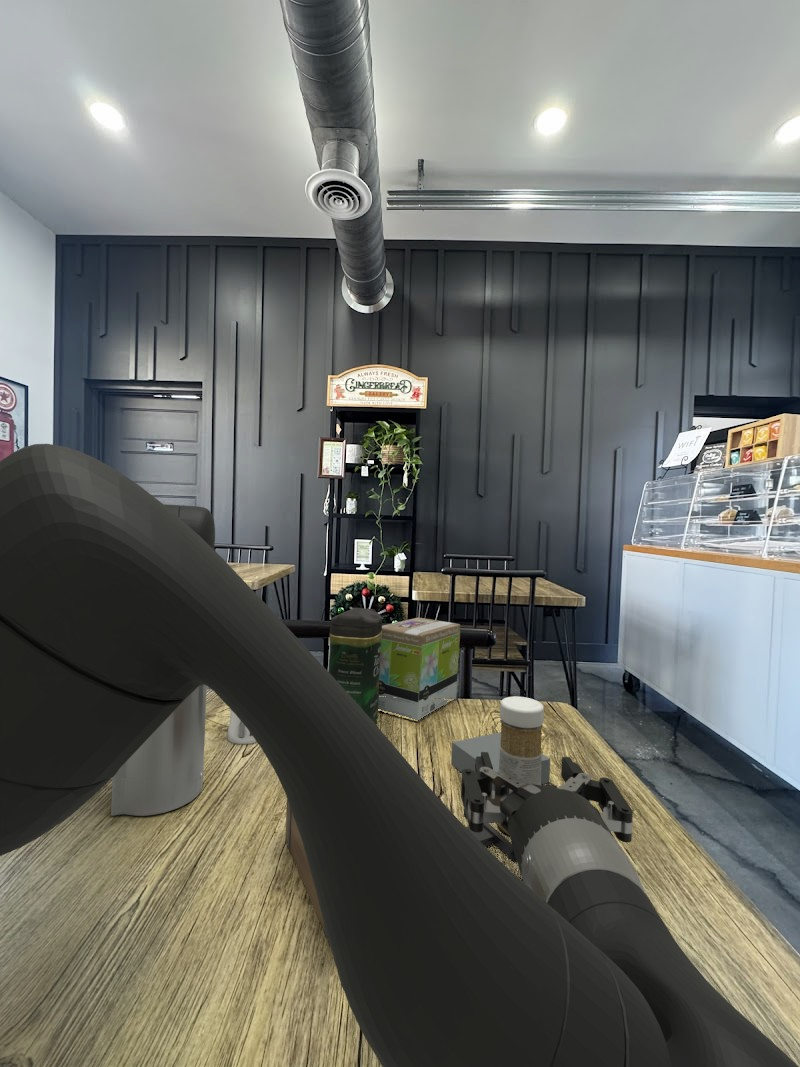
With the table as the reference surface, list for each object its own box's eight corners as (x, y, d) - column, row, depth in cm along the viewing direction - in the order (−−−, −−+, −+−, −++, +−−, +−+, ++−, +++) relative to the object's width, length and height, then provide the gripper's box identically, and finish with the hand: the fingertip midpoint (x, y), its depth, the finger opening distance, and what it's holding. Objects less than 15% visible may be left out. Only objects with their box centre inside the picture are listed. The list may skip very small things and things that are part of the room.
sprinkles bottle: (528, 813, 53) (532, 694, 53) (547, 839, 49) (552, 709, 49) (489, 815, 53) (494, 695, 53) (505, 842, 48) (510, 710, 48)
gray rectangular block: (493, 798, 56) (494, 772, 56) (451, 764, 64) (452, 742, 64) (549, 782, 61) (550, 758, 61) (503, 752, 68) (503, 731, 68)
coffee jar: (369, 739, 71) (374, 615, 71) (318, 733, 72) (323, 612, 72) (383, 715, 80) (387, 606, 80) (338, 710, 82) (342, 603, 82)
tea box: (419, 724, 77) (422, 634, 77) (369, 710, 83) (372, 626, 83) (458, 699, 90) (461, 621, 90) (412, 688, 95) (415, 615, 95)
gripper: (472, 917, 34) (455, 793, 50) (673, 932, 34) (590, 802, 50) (477, 813, 34) (458, 723, 50) (678, 827, 34) (594, 731, 50)
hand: (524, 763), depth 50 cm, fingers open, 8 cm apart
